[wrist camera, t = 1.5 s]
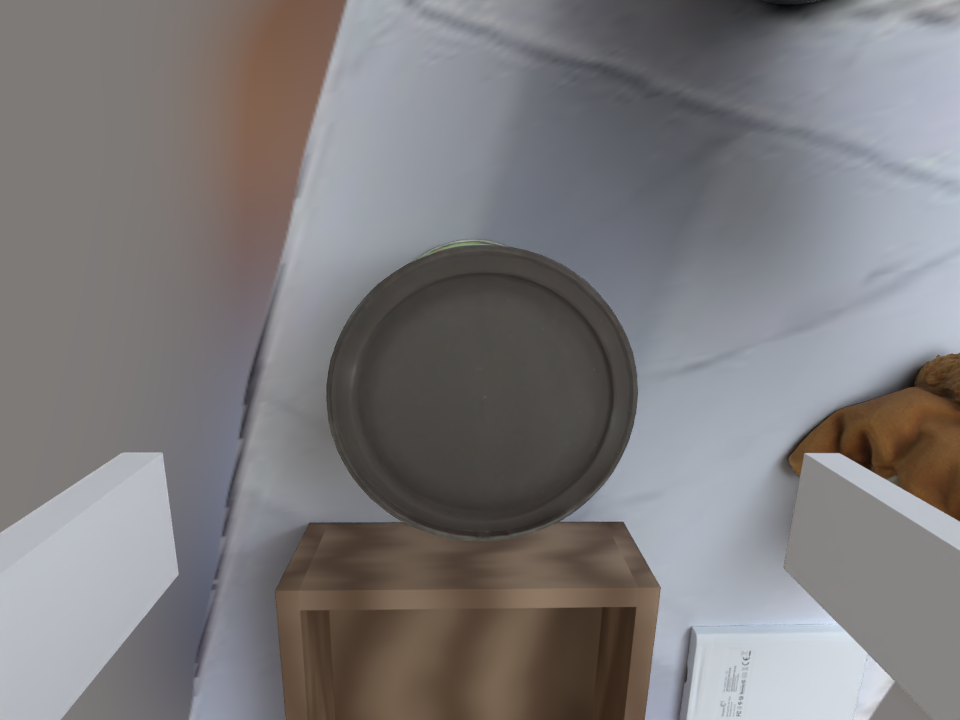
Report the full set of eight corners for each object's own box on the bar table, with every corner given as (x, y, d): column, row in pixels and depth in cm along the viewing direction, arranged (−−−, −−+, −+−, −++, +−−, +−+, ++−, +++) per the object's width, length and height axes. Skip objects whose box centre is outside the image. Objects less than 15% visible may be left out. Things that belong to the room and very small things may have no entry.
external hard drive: (835, 708, 39) (675, 713, 39) (855, 616, 38) (688, 620, 37) (851, 728, 38) (685, 733, 37) (873, 633, 36) (698, 637, 35)
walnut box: (623, 521, 34) (660, 587, 28) (599, 764, 39) (626, 867, 33) (309, 522, 33) (275, 590, 27) (325, 771, 38) (299, 878, 32)
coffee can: (351, 292, 30) (262, 342, 16) (510, 206, 29) (558, 182, 15) (437, 438, 32) (422, 590, 19) (586, 363, 31) (685, 463, 18)
